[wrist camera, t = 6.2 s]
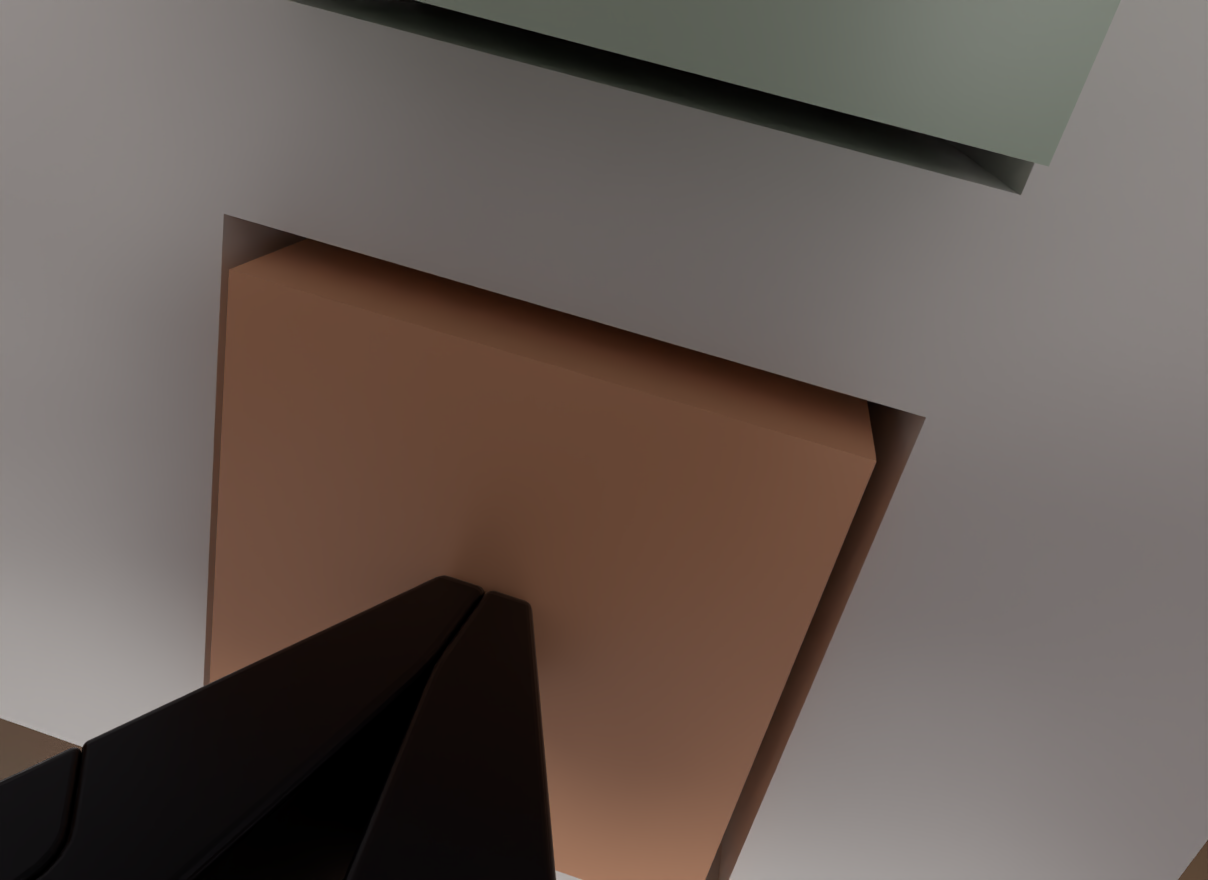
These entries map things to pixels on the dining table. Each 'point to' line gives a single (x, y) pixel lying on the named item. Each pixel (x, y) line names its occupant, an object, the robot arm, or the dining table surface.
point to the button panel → (678, 316)
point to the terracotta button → (538, 521)
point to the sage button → (861, 55)
